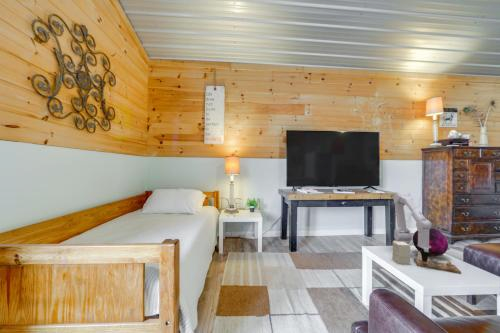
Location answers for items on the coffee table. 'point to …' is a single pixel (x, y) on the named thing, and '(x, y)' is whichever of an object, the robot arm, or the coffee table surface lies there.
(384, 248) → the coffee table surface
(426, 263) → the sleeve
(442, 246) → the decorative sphere
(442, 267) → the pin board
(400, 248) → the supplement box
